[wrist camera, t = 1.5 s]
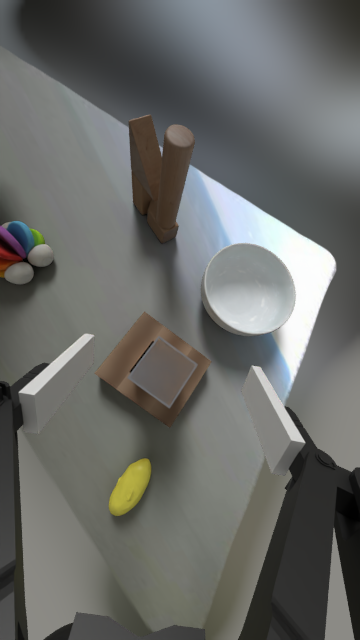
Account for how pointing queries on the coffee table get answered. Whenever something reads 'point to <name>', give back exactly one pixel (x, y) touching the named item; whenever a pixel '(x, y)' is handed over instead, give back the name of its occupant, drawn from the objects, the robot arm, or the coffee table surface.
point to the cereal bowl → (248, 290)
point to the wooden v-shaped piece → (159, 173)
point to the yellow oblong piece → (130, 487)
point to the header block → (131, 351)
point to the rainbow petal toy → (21, 252)
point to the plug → (163, 371)
